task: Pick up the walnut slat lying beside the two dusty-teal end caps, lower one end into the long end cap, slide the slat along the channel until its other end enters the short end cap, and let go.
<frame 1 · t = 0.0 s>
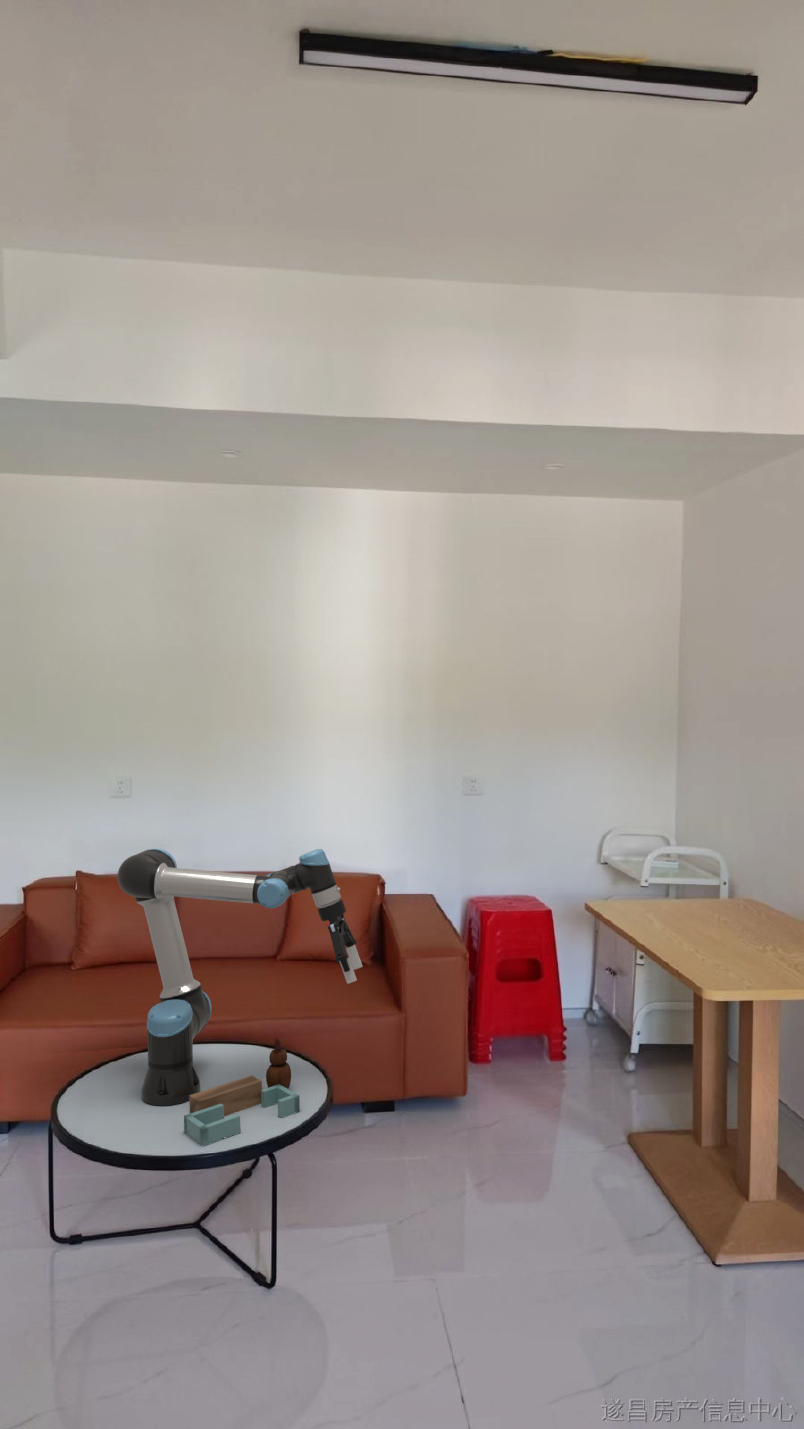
hand: (355, 974, 241), 28 cm above the table, tool tilted 20°, fingers open, 13 cm apart
wooden figurine: (279, 1092, 230), on the table
slat: (226, 1111, 219), on the table
endcaps: (243, 1121, 213), on the table
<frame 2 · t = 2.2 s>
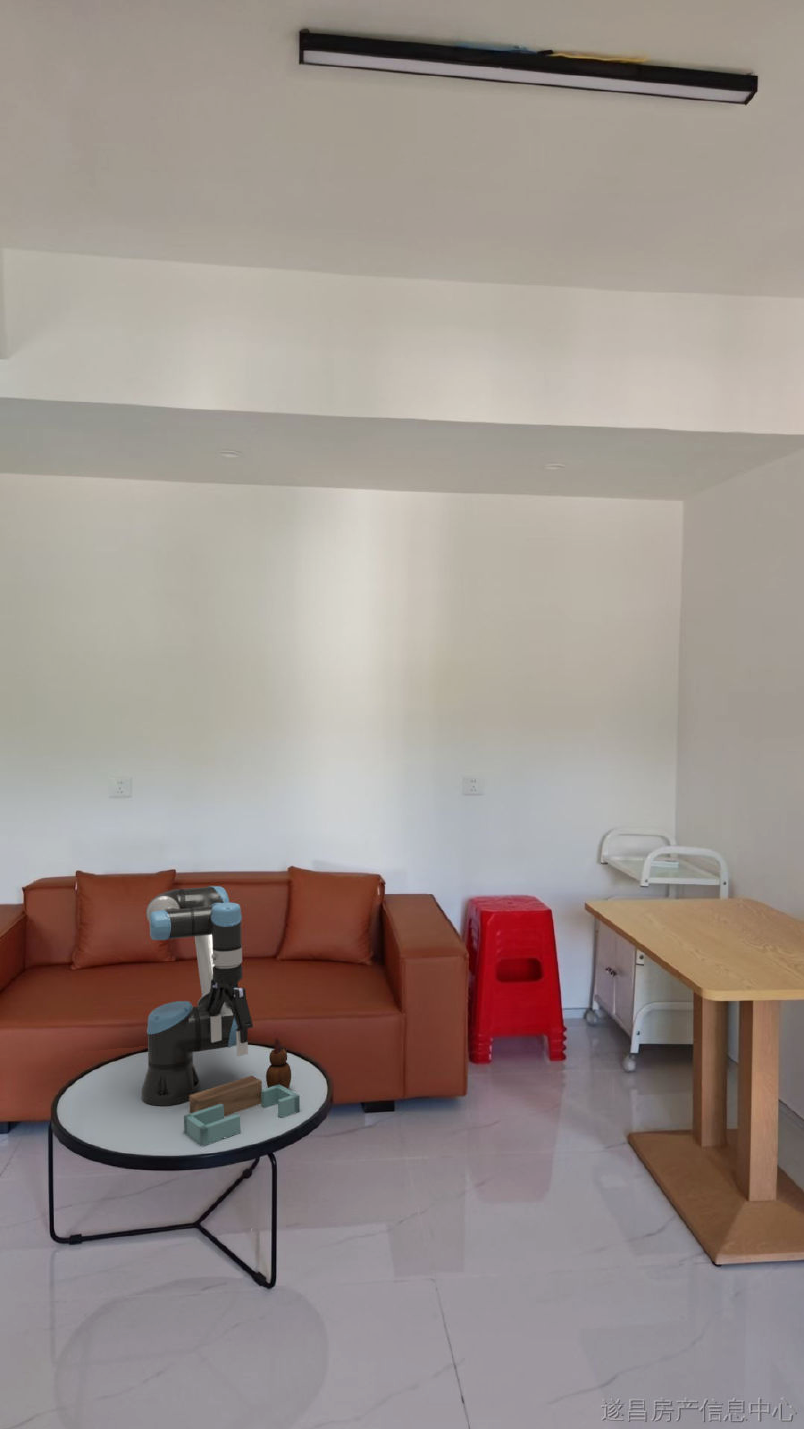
hand: (229, 1047, 220), 16 cm above the table, tool pointing down, fingers open, 13 cm apart
nothing on the table moved.
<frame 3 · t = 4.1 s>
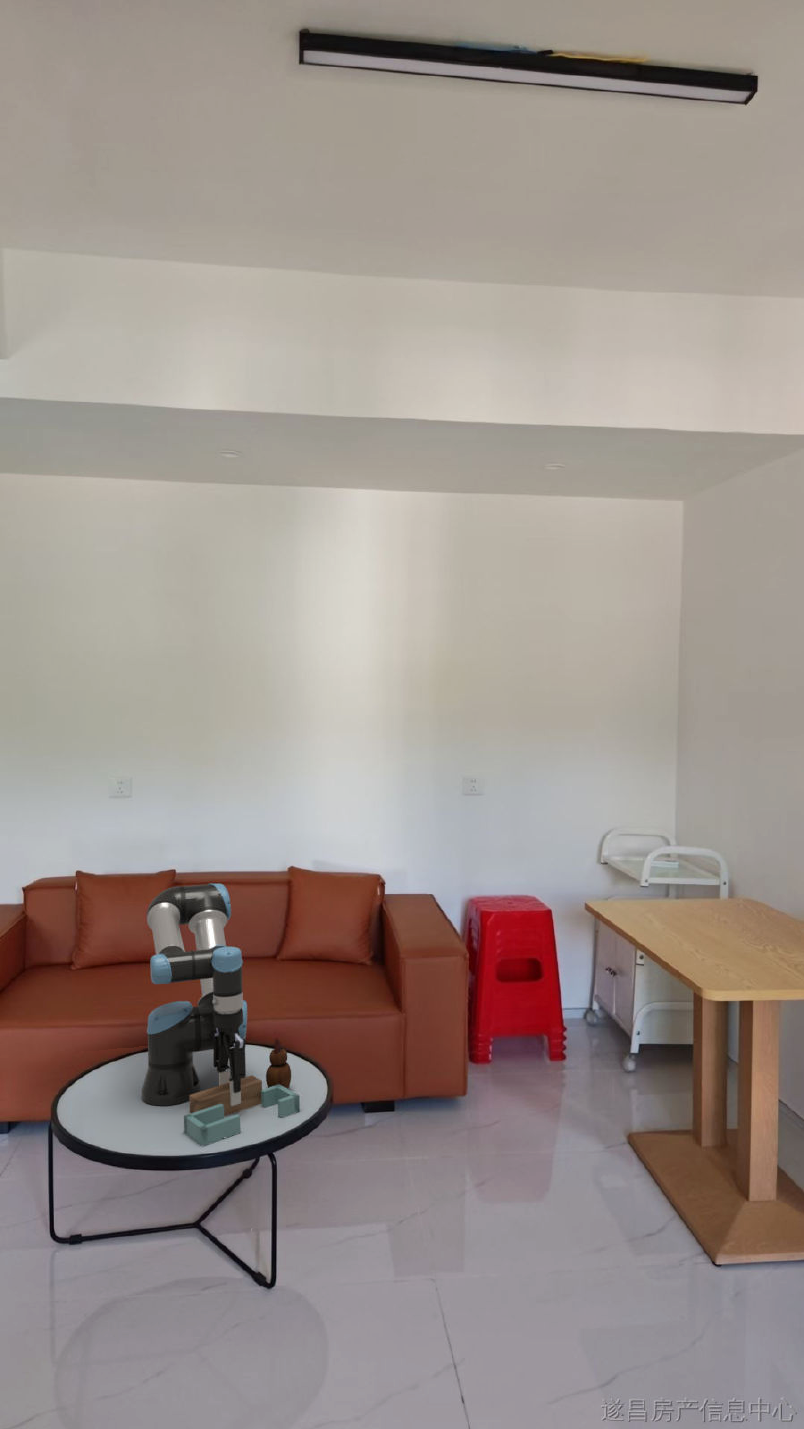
hand: (230, 1100, 220), 2 cm above the table, tool pointing down, fingers closed on slat, 5 cm apart
slat: (226, 1111, 219), on the table, touching gripper
everything else where it was.
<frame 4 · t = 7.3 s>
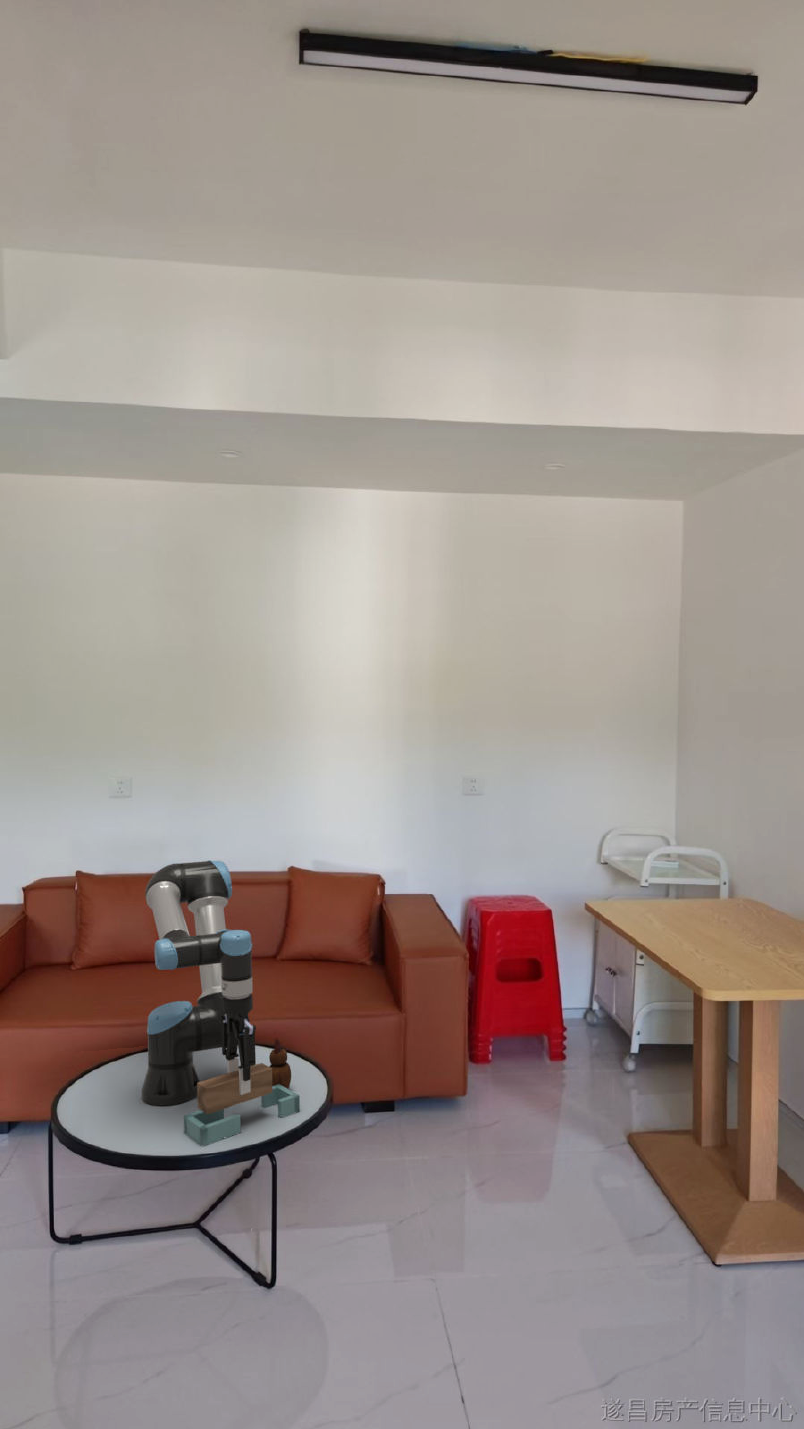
hand: (239, 1089, 212), 8 cm above the table, tool pointing down, fingers closed on slat, 5 cm apart
slat: (235, 1099, 212), point 6 cm above the table, touching gripper
everything else where it was.
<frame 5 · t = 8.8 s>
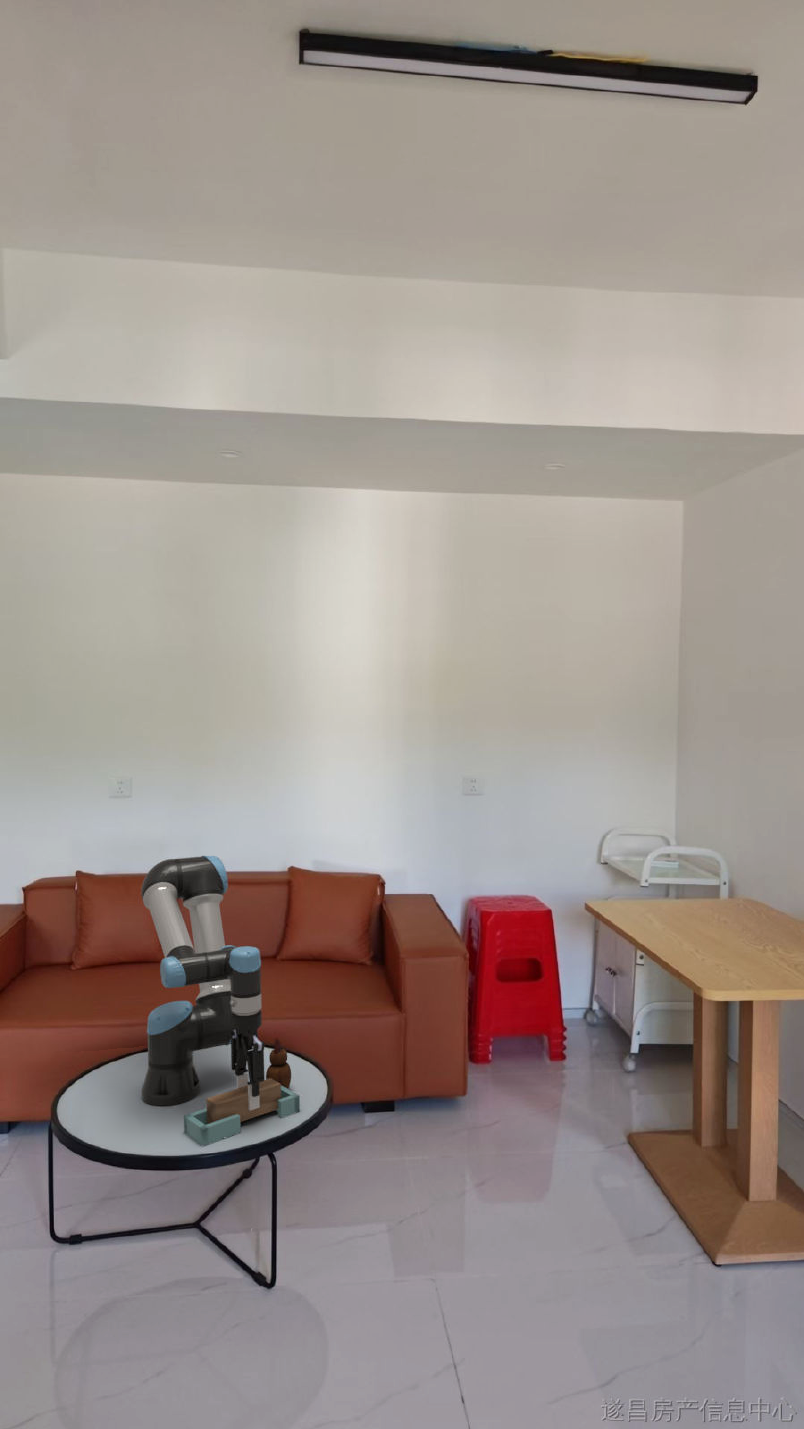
hand: (248, 1104, 214), 4 cm above the table, tool pointing down, fingers closed on slat, 5 cm apart
slat: (244, 1115, 213), point 1 cm above the table, touching gripper
everything else where it was.
when the fingers open (4 cm above the table, at t = 10.1 s): slat drops 2 cm, on the table.
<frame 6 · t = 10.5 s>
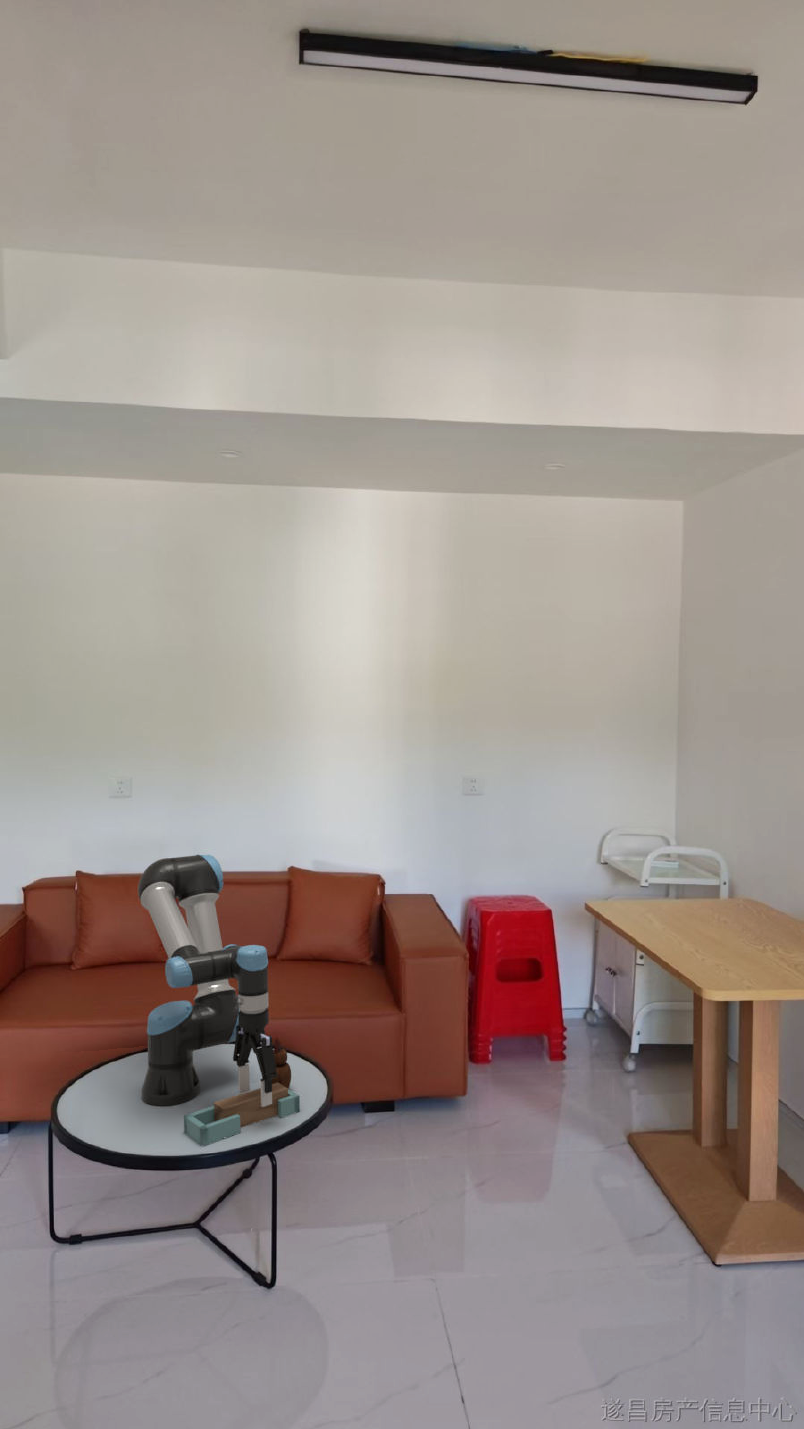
hand: (255, 1098, 215), 5 cm above the table, tool pointing down, fingers open, 10 cm apart
slat: (252, 1119, 215), on the table
everything else where it was.
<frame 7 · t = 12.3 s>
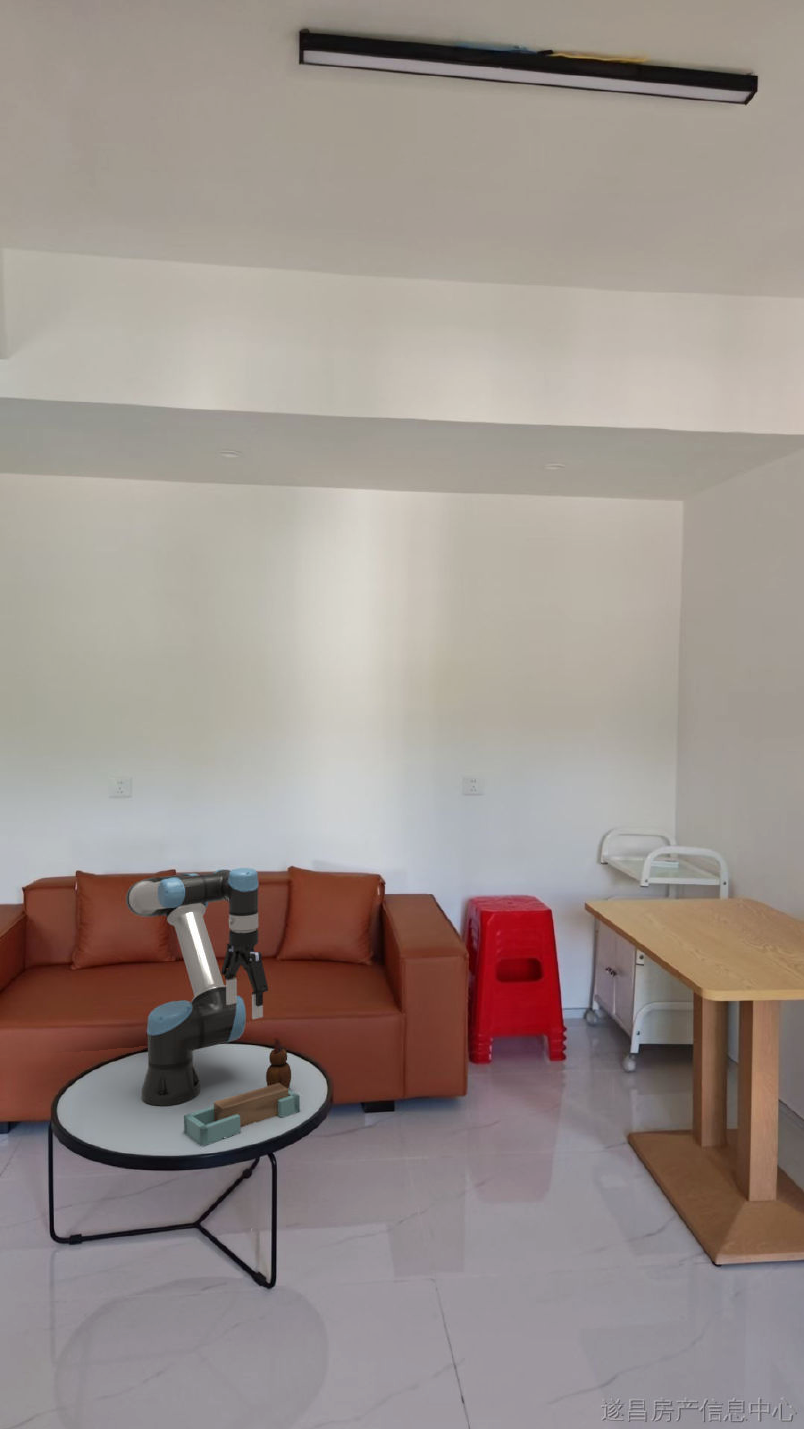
hand: (244, 1010, 223), 24 cm above the table, tool pointing down, fingers open, 13 cm apart
nothing on the table moved.
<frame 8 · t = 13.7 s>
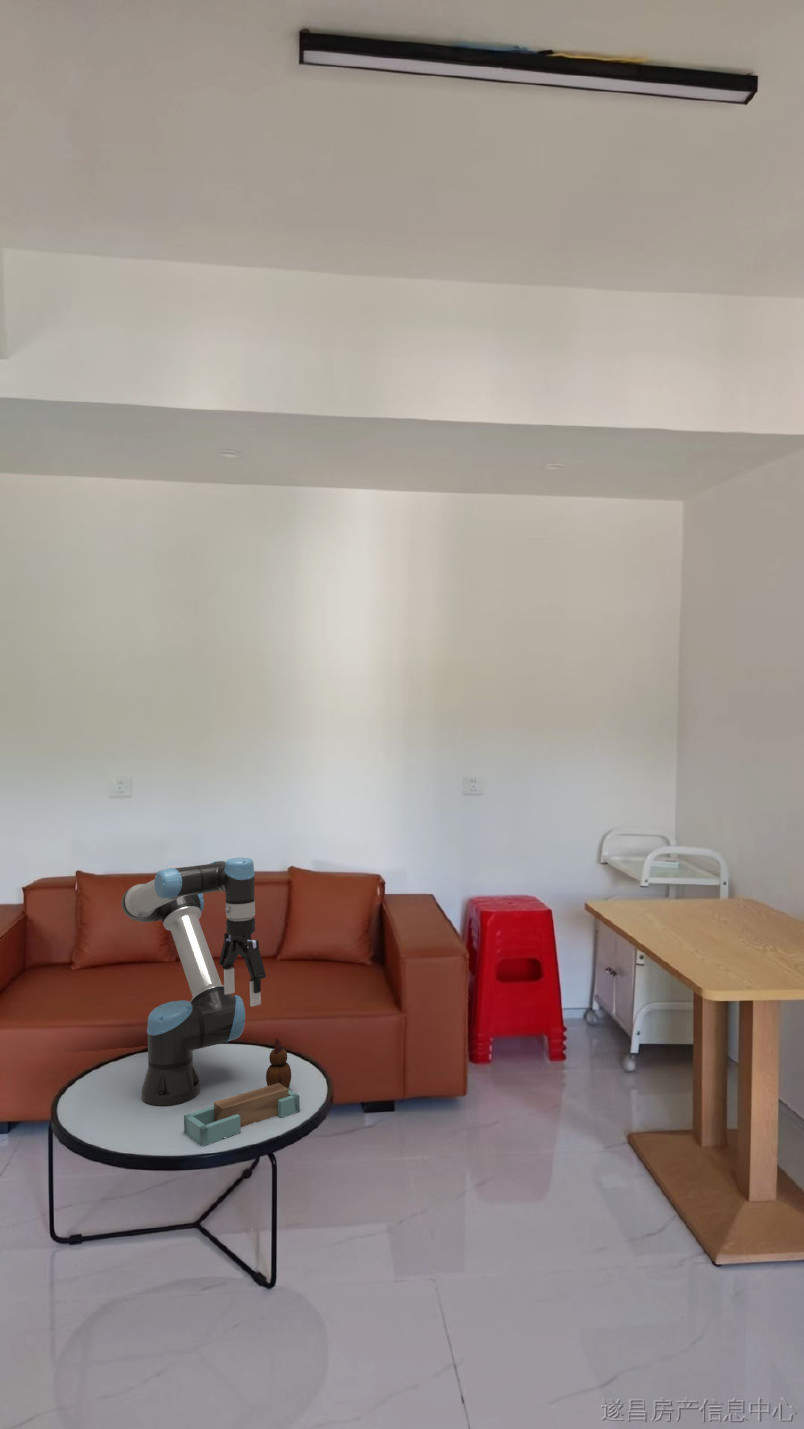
hand: (242, 999, 225), 27 cm above the table, tool pointing down, fingers open, 13 cm apart
nothing on the table moved.
at the end: slat 0.4 cm from the target spot on the endcaps, point 0.0 cm above the endcaps's base; slat on the table; the gripper is holding nothing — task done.
